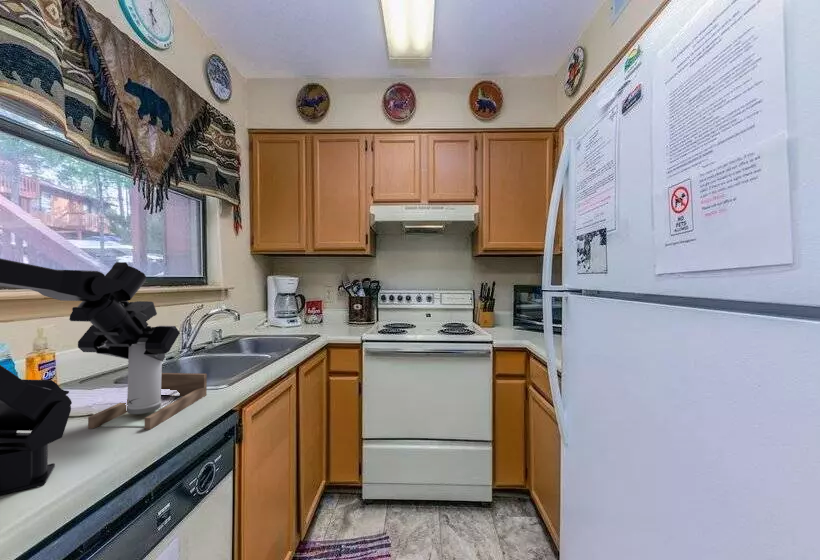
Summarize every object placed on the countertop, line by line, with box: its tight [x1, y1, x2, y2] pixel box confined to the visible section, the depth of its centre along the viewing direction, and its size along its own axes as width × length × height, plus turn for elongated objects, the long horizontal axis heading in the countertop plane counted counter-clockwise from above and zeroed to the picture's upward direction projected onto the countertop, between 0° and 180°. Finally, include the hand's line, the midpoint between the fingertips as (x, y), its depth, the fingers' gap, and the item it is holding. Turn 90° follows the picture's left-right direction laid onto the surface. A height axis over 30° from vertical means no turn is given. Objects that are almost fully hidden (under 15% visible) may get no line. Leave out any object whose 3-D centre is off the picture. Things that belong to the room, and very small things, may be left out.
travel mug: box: [126, 325, 163, 414], centre depth 80 cm, size 6×7×20 cm
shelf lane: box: [87, 372, 208, 431], centre depth 83 cm, size 21×13×6 cm, turn 1°
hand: (149, 358), depth 81 cm, fingers closed on travel mug, 6 cm apart
